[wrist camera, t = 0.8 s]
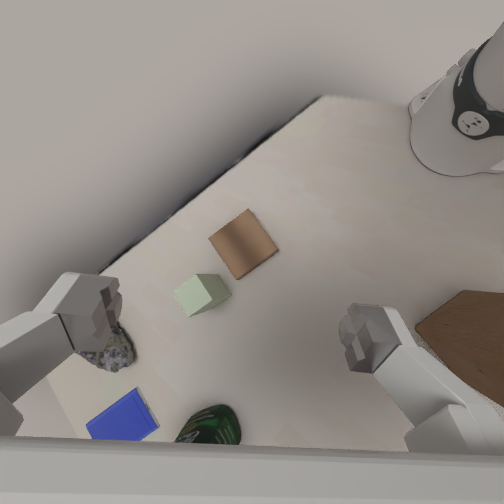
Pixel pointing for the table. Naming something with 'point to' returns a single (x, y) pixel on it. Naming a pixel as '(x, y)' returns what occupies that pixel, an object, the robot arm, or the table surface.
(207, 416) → the coffee jar
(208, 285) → the column
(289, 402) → the table surface
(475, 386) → the wooden block
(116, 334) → the mineral rock
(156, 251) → the table surface
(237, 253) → the slab
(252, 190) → the table surface
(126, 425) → the hard drive
